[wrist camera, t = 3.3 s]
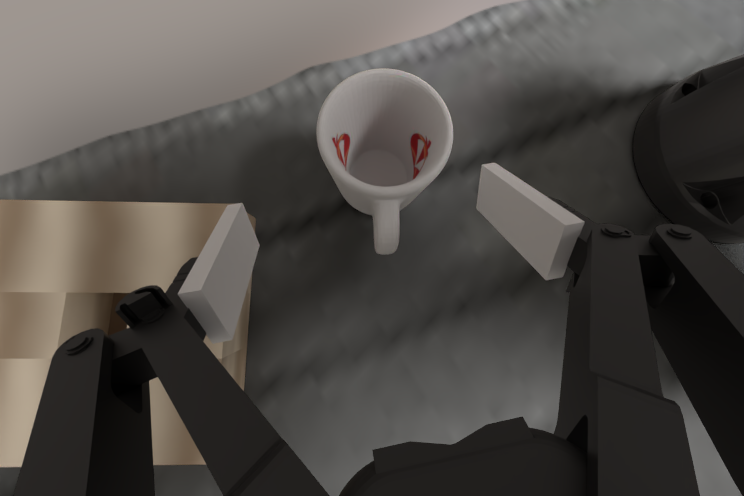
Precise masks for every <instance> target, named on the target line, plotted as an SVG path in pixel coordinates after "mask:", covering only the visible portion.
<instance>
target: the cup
mask: <svg viewBox="0 0 744 496" xmlns="http://www.w3.org/2000/svg"><path fill="white" fill-rule="evenodd" d="M316 135H317V143H318V148H319V151H320V154H321V157H322V159H323V161H324V163H325V165H326V167H327V169H328V170H329V172H330V174H331V176H332V178H333V180H334V181H335V183H336V185H337V187H338V189H339V191H340V192H341V194H342V196H343V197H344V198H345V200H346V201H347V202H348V203H349V204H350V205H351V206H353V207H354V208H355V209H357V210H359V211H360V212H363V213H365V214H369V215H372V216H373V228H374V246H375V251H376V252H377V253H378V254H386V255H387V254H392V253H394V252H395V251H396V250H397V247H398V244H399V234H400V219H399V211H400V210H402V209H403V208H405V207H406V206H407V205H409V204H410V203H411V202H412V201H413V200H414V199H415V198H416V197H417V196H418V195H419V194H420V193H421V192H422V191H423V190H424V189H425V188H426V187H427V186H428V185H429V184H430V183H431V182H432V181H433V180H434V179H435V178H436V177H437V176H438V175H439V174H440V172H441V171H442V169H443V168H444V166H445V165H446V163H447V160H448V158H449V156H450V152H451V149H452V144H453V125H452V120H451V116H450V113H449V111H448V108H447V106H446V104H445V103H444V101H443V99H442V98H441V97H440V95H439V94H438V93H437V92H436V91H435V90H434V89H433V88H432V87H431V86H430V85H429V84H428V83H426V82H425V81H423V80H422V79H420V78H419V77H416V76H414V75H412V74H410V73H407V72H404V71H400V70H396V69H387V68H382V69H371V70H366V71H363V72H359V73H357V74H355V75H352V76H350V77H348V78H347V79H345V80H344V81H342V82H341V83H340V84H338V85H337V86H336V87H335V88H334V89H333V90H332V91H331V93H330V94H329V95H328V96H327V98H326V100H325V101H324V103H323V105H322V107H321V110H320V112H319V116H318V120H317V130H316Z"/></svg>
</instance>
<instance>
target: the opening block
mask: <svg viewBox="0 0 744 496" xmlns="http://www.w3.org/2000/svg"><path fill="white" fill-rule="evenodd" d="M227 205H231V204H216V203H161V202H105V201H49V200H0V467H21V466H22V463H23V459H24V456H25V452H26V449H27V445H28V442H29V438H30V435H31V431H32V427H33V424H34V420H35V417H36V413H37V410H38V406H39V403H40V399H41V396H42V392H43V388H44V385H45V381H46V378H47V374H48V371H49V367H50V364H51V360H52V357H53V355H54V353H55V351H56V350H57V349H58V348H59V347H60V346H61V345H62V344H63V343H64V342H65V341H66V340H68V339H69V338H71V337H72V336H74V335H77V334H79V333H81V332H83V331H86V330H89V329H95V328H99V329H101V330H103V331H104V332H105V333H106V334H107V335H108V336H109V335H112V334H114V333H117V332H119V331H122V330H124V329H127V328H130V327H129V326H128V325H127V324H126V323H125V322H124V321H123V320H122V319H121V317H120V316H119V315H118V314H117V313H116V312H115V307H116V306H117V304H118V303H119V301H120V300H122V299H123V298H124V297H125V296H126V295H128V294H129V293H131V292H133V291H135V290H137V289H139V288H142V287H145V286H150V285H157V286H159V287H161V289H162V290H163V291H164V293H166V291H167V290H168V288H169V286H170V285H171V283H173V280H174V278H175V276H177V273H178V272H179V270H180V268H181V267H182V266H183V265H184V264H185V263H186V262H187V261H188V260H189V259H191V258H194V257H199V255H200V253H201V251H202V250H203V248H204V246H205V244H206V242H207V241H208V239H209V237H210V235H211V234H212V232H213V230H214V228H215V226H216V225H217V223H218V221H219V219H220V218H221V216H222V214H223V212H224V210H225V209H226V207H227ZM246 213H247V212H246ZM247 215H248V218H249V220H250V222H251V225H252V227H253V230H254V232H255V226H256V218H254V217H253V216H251V215H250V214H249V213H247ZM251 283H252V274H251V277H250V281H249V284H248V288H247V291H246V295H245V298H244V302H243V305H242V309H241V312H240V316H239V319H238V322H237V326H236V329H235V333H234V336H233V340H230V341H224V342H219V343H214V344H212V342H211V341H210V339H209V338H208V336H207V335H206V336H205V339H204V341H203V342H204V343H205V344H206V345H207V347H208V348H209V349H210V350H211V352H212V353H213V354H214V355H215V357H216V358H217V359H218V360H219V362H220V363H221V364H222V365H223V366H224V368H225V369H226V370H227V371H228V373H229V374H230V375H231V376H232V378H233V379H234V380H235V381H236V383H237V384H238V385H239V386H240V387H241V389H242V390H243V391H244V383H245V369H246V355H247V340H248V326H249V312H250V297H251ZM149 388H150V408H151V429H152V449H153V465H205V464H206V463H205V461H204V459H203V457H202V456H201V454H200V452H199V450H198V448H197V447H196V445H195V443H194V441H193V439H192V438H191V436H190V434H189V432H188V430H187V429H186V427H185V425H184V423H183V421H182V419H181V418H180V416H179V414H178V412H177V410H176V409H175V407H174V405H173V403H172V401H171V400H170V398H169V396H168V394H167V392H166V391H165V389H164V387H163V385H162V383H161V382H160V380H159V378H158V377H156V378H154V379H152V380H150V381H149Z"/></svg>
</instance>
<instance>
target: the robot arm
mask: <svg viewBox="0 0 744 496" xmlns="http://www.w3.org/2000/svg"><path fill="white" fill-rule="evenodd" d="M633 153H634V161H635V166H636V170H637V173H638V176H639V178H640V181H641V183H642V185H643V187H644V189H645V191H646V192H647V194H648V196H649V197H650V199H651V200H652V201H653V203H654V204H655V205H656V206H657V207H658V209H659V210H660V211H661V212H662V213H663V214H664V215H665V216H666V217H667V218H669V219H670V220H671V221H672V222H674V223H675V224H676V225H675V224H662V225H658V226H657V227H656V228H655V230H654V232H653V234H652V235H634V234H633V232H631V231H630V230H629V229H627V228H624V227H622V226H619V225H615V224H606V223H603V224H596V223H594V222H593V221H591V220H590V219H588V218H586V217H585V216H583V215H582V214H580V213H579V212H577V211H576V212H575V210H574V209H572V208H571V207H568V205H566V204H565V203H563V202H561V201H560V200H557V199H554V198H551V197H546V196H545V195H543V194H542V193H540V192H539V191H537V190H536V189H534V188H533V187H531V186H530V185H528V184H527V183H525V182H524V181H522V180H521V179H519V178H518V177H516V176H515V175H513V174H512V173H510V172H508V171H507V170H505V169H504V168H502V167H501V166H499V165H498V164H496V163H489V164H482V166H481V174H480V182H479V190H478V197H477V205H476V209H477V210H478V211H479V212H480V213H481V214H482V215H483V216H484V217H485V218H486V219H487V220H488V221H489V222H490V223H491V224H492V225H493V226H494V227H495V228H496V229H497V231H498V232H499V233H500V234H501V235H502V236H503V237H504V238H505V239H506V240H507V241H508V242H509V243H510V244H511V245H512V246H513V247H514V248H515V249H516V250H517V251H518V252H519V253H520V254H521V255H522V256H523V257H524V258H525V259H526V260H527V261H528V262H529V263H530V264H531V265H532V267H533V268H534V269H535V270H536V271H537V272H538V273H539V274H540V275H541V276H542V277H543V278H544V279H545V280H551V279H556V278H561V277H563V276H564V273H565V271H566V268H567V266H568V267H570V268H571V269H572V270H573V271H574V273H573V275H572V278H571V280H570V283H569V285H568V287H567V290H566V292H569V291H570V296H569V307H568V318H567V328H566V339H565V349H564V360H563V370H562V381H561V391H560V402H559V413H558V421H557V425H556V428H555V431H554V434H552V433H549V432H546V431H543V430H538V429H534V428H528V426H527V424H526V422H525V420H524V418H523V417H519V418H514V419H510V420H505V421H501V422H496V423H492V424H487V425H485V426H484V427H482V428H480V429H479V430H477V431H475V432H474V433H472V434H470V435H469V436H467V437H465V438H464V439H462V440H460V441H459V442H457V443H455V444H452V445H447V444H434V443H421V442H406V443H402V444H397V445H393V446H388V447H384V448H379V449H375V450H373V456H374V461H373V462H371V463H369V464H368V465H366V466H365V467H363V468H362V469H361V470H360V471H358V472H357V473H356V474H355V475H354V476H353V477H352V478H351V479H350V481H349V482H348V483H347V485H346V486H345V487H344V488H343V490H342V492H341V493H340V495H339V496H700V494H699V490H698V485H697V480H696V475H695V471H694V466H693V461H692V457H691V452H690V447H689V443H688V438H687V433H686V428H685V424H684V419H683V415H682V412H681V409H680V407H679V406H678V405H677V404H676V402H674V401H672V400H669V399H666V398H664V397H663V394H662V390H661V385H660V379H659V373H658V367H657V361H656V355H655V349H654V344H653V338H652V332H651V329H652V331H653V333H654V335H655V337H656V338H657V340H658V342H659V344H660V346H661V348H662V349H663V351H664V353H665V355H666V357H667V359H668V361H669V362H670V364H671V366H672V368H673V370H674V372H675V373H676V375H677V377H678V379H679V381H680V383H681V385H682V386H683V388H684V390H685V392H686V394H687V396H688V397H689V399H690V401H691V403H692V405H693V407H694V409H695V410H696V412H697V414H698V416H699V418H700V420H701V421H702V423H703V425H704V427H705V429H706V431H707V433H708V434H709V436H710V438H711V440H712V442H713V444H714V445H715V447H716V449H717V451H718V453H719V455H720V457H721V458H722V460H723V462H724V464H725V466H726V468H727V469H728V471H729V473H730V475H731V477H732V479H733V480H734V482H735V484H736V485H737V487H738V489H739V490H740V492H741V494H742V496H744V275H743V274H742V273H741V272H740V271H739V270H738V269H737V268H736V267H735V266H734V265H733V264H732V263H731V262H730V261H729V260H728V259H727V258H726V257H725V256H724V255H723V254H722V253H721V252H720V251H719V250H718V249H717V248H716V247H715V246H713V245H712V244H711V243H710V242H709V241H708V240H710V241H714V242H719V243H730V244H734V243H744V54H743V55H741V56H738V57H735V58H733V59H730V60H727V61H724V62H722V63H719V64H716V65H714V66H711V67H708V68H706V69H703V70H700V71H698V72H696V73H694V74H692V75H690V76H688V77H686V78H684V79H683V80H681V81H680V82H678V83H677V84H675V85H674V86H672V87H670V88H669V89H667V90H666V91H664V92H663V93H661V94H660V95H658V96H657V97H656V98H655V99H654V100H652V101H651V102H650V103H649V105H648V106H647V107H646V108H645V110H644V111H643V113H642V114H641V116H640V118H639V121H638V123H637V126H636V129H635V134H634V141H633ZM259 246H260V244H259V242H258V239H257V237H256V235H255V232H254V230H253V227H252V225H251V222H250V220H249V218H248V215H247V213H246V210H245V208H244V205H243V203H237V204H231V205H227V207H226V209H225V210H224V212H223V214H222V216H221V218H220V219H219V221H218V223H217V225H216V226H215V228H214V230H213V232H212V234H211V235H210V237H209V239H208V241H207V242H206V244H205V246H204V248H203V250H202V251H201V253H200V255H199V257H194V258H191V259H189V260H188V261H187V262H186V263H185V264H184V265H183V266H182V267H181V268H180V270H179V272H178V273H177V276H175V278H174V280H173V283H171V285H170V286H169V288H168V290H167V291H166V293H164V291H163V290H162V289H161V287H159V286H157V285H150V286H145V287H142V288H139V289H137V290H135V291H133V292H131V293H129V294H128V295H126V296H125V297H124V298H123V299H122V300H120V301H119V303H118V304H117V306H116V307H115V312H116V313H117V314H118V315H119V316H120V317H121V319H122V320H123V321H124V322H125V323H126V324H127V325H128V326H129V327H130V328H127V329H124V330H122V331H119V332H117V333H114V334H112V335H109V336H108V335H107V334H106V333H105V332H104V331H103V330H101V329H99V328H95V329H89V330H86V331H83V332H81V333H79V334H77V335H74V336H72V337H71V338H69V339H68V340H66V341H65V342H64V343H63V344H62V345H61V346H60V347H59V348H58V349H57V350H56V351H55V353H54V355H53V357H52V360H51V364H50V367H49V371H48V374H47V378H46V381H45V385H44V388H43V392H42V396H41V399H40V403H39V406H38V410H37V413H36V417H35V420H34V424H33V427H32V431H31V435H30V438H29V442H28V445H27V449H26V452H25V456H24V459H23V463H22V466H21V470H20V474H19V477H18V481H17V484H16V488H15V491H14V495H13V496H155V490H154V469H153V449H152V429H151V408H150V388H149V381H150V380H152V379H154V378H156V377H158V378H159V380H160V382H161V383H162V385H163V387H164V389H165V391H166V392H167V394H168V396H169V398H170V400H171V401H172V403H173V405H174V407H175V409H176V410H177V412H178V414H179V416H180V418H181V419H182V421H183V423H184V425H185V427H186V429H187V430H188V432H189V434H190V436H191V438H192V439H193V441H194V443H195V445H196V447H197V448H198V450H199V452H200V454H201V456H202V457H203V459H204V461H205V463H206V465H207V466H208V468H209V470H210V472H211V474H212V475H213V477H214V479H215V481H216V483H217V484H218V486H219V488H220V490H221V492H222V494H223V496H329V495H328V493H327V492H326V491H325V490H324V488H323V487H322V486H321V485H320V483H319V482H318V481H317V480H316V479H315V477H314V476H313V475H312V474H311V472H310V471H309V470H308V469H307V467H306V466H305V465H304V464H303V463H302V461H301V460H300V459H299V458H298V456H297V455H296V454H295V453H294V451H293V450H292V449H291V448H290V447H289V445H288V444H287V443H286V442H285V441H284V440H283V439H282V438H281V437H280V436H279V434H278V433H277V432H276V431H275V430H274V428H273V427H272V426H271V425H270V423H269V422H268V421H267V420H266V418H265V417H264V416H263V415H262V413H261V412H260V411H259V410H258V409H257V407H256V406H255V405H254V404H253V402H252V401H251V400H250V399H249V397H248V396H247V395H246V394H245V392H244V391H243V390H242V389H241V387H240V386H239V385H238V384H237V383H236V381H235V380H234V379H233V378H232V376H231V375H230V374H229V373H228V371H227V370H226V369H225V368H224V366H223V365H222V364H221V363H220V362H219V360H218V359H217V358H216V357H215V355H214V354H213V353H212V352H211V350H210V349H209V348H208V347H207V345H206V344H205V343H204V342H203V341H204V339H205V336H206V335H207V336H208V338H209V339H210V341H211V342H212V344H214V343H219V342H224V341H230V340H233V336H234V333H235V329H236V326H237V322H238V319H239V316H240V312H241V309H242V305H243V302H244V298H245V295H246V291H247V288H248V284H249V281H250V277H251V274H252V270H253V267H254V263H255V260H256V257H257V253H258V250H259Z"/></svg>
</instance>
